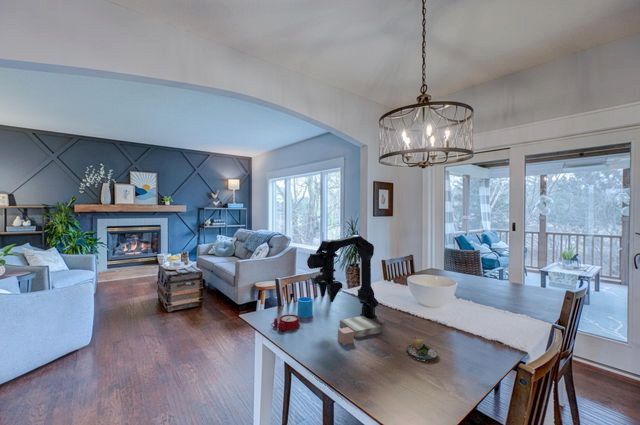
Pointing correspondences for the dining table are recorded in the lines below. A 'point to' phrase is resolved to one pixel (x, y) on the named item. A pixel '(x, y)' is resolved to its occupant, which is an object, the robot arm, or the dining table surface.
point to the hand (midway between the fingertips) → (327, 299)
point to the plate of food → (421, 351)
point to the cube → (345, 336)
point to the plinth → (361, 326)
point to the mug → (305, 307)
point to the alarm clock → (287, 322)
